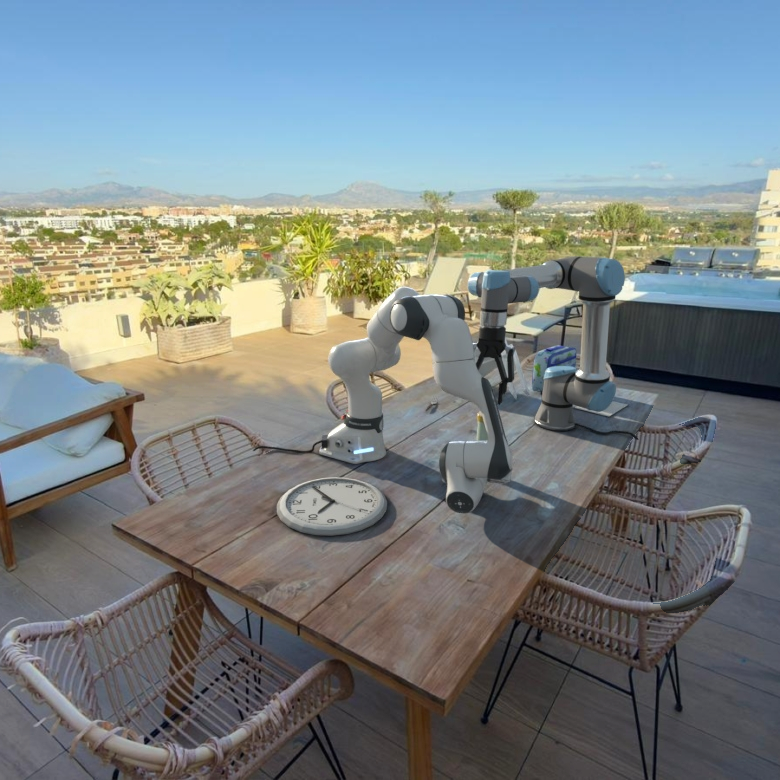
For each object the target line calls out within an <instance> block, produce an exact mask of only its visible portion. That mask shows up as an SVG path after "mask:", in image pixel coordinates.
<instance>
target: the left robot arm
mask: <svg viewBox="0 0 780 780" xmlns="http://www.w3.org/2000/svg"><path fill="white" fill-rule="evenodd" d="M465 319H466V309H465V306H464V304H463V302H462V301H461V300H460V299H459V298H458V297H456V296H453V295H450V294H430V293H429V294H420V293H418V291H416V290H415V289H414V288H412V287H409V286H400V287H398V288H396V289H395V290H393V292H391V293H390V295H388V296H387V297H386V298H385V299H384V301H383V302H382V303H381V304H380V305H379V306H378V308H377V309H376V311H375V312H374V314H373V315H372V316H371V318H370V319H369V321H368V322H367V324H366V334H367V337H365V338H362V339H356V340H348V341H344V342H341V343H339V344H336V345H333V347H331V349H330V350H329V352H328V356H327V357H328V358H327V362H328V366H329V369H330V371H332V373H333V374H334V375H335V376H337V377H339V379H340V380H341V381H342V382H343V384H344V386H345V388H346V393H347V405H348V409H346V411H345V413H343V415H342V416H340V417H341V419H340V420H341V421H342V422H341V423H340V424H339V425H337V426H336V427H334V428H333V429H332V430H331V431H330V432H329V433H328V434H322V435H321V440H317V441H315V442H314V443H313V444H312V446H311V449H308V450H299V449H291V448H283V447H277V446H265V445H259V446H256V447H254V448H253V449H252V452H255V451H257V450H259V449H268V450H276V451H277V450H278V451H282V452H292V453H299V454H300V453H304V454H305V453H312V452H314V450H315V448H316V446H317V445H318V444H321V446H320V447H319V455H321V456H324V457H326V458H327V457H328V458H332V459H335V460H338V461H342V462H346V463H348V464H353V465H358V464H362V463H368V462H374V461H378V460H381V459H383V458H384V457H386V456H387V449H386V447H385V441H384V434H383V433H384V432H383V431H384V424H385V423H384V422H385V421H384V413H383V392H382V390H381V388H380V387H379V386H378V385H377V384H374V383H372V381H371V377H370V374H372V373H376V372H377V373H378V372H382V371H385V370H388V369H390V368H393V367H394V366H397V364H399V362H400V359H401V356H402V353H401V352H402V351H401V347H400V342H402V341H403V339H404V338H405V337H406V338H410V339H413V340H416V341H420V340H422V338H424V339H425V340H427V342H428V343H429V345H430V350H431V362H432V363H431V367H432V373H433V378H434V382H435V384H436V385H437V386H438V387H439V388H440V389H441V390H442V391H444V392H445V393H447V394H448V395H451V396H454V397H457V398H460V399H464V400H466V401H468V402H470V403H473V404H474V405H476V406H477V408H478V409H479V411H480V412H481V413H482V416H483V420H484V424H485V428H486V432H487V435H488V440H486V441H476V440H452V441H451V440H450V441H448V442H447V443H446V444H445V445H444V446H443V448H442V449H441V451H440V454H439V459H438V467H439V468H438V469H439V473H440V476H441V482H442V483H444V484H446V486H447V487H446V494H445V501H446V505H447V506H448V508H449V509H450V510H451V511H453V512H454V513H457V514H468V513H469V514H470V513H471V512H473V511H474V510H475V509H476V508H477V507H478V505H479V503H480V501H481V499H482V496H483V494H484V490H486V486H487V484H488V483H492V484H499V485H504V484H507V483H510V482H511V480H512V475H513V466H514V460H513V459H514V458H513V453H512V450H511V448H510V445H509V442H508V439H507V436H506V433H505V429H504V425H503V421H502V418H501V413H500V410H499V407H498V406H499V405H497V404H498V401H497V399H496V395H495V393H494V389H493V387H492V384H491V382H490V381H489V379H488V378H487V377H482V376H481V374H480V373H479V371H478V369H477V367H476V363H475V359H473V358H475V355H474V347H473V343H474V342H473V337H472V333H471V330H470V326H469V325H468V323H467V321H466V320H465Z"/></svg>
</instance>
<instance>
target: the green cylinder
mask: <svg viewBox="0 0 780 780" xmlns="http://www.w3.org/2000/svg"><path fill="white" fill-rule="evenodd" d="M476 426H477V428H476V440H475V441H486V440H488V435H487V432H486V428H485V424H484V423H483V422H479V421H478V420H477V425H476Z"/></svg>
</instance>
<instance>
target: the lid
mask: <svg viewBox="0 0 780 780" xmlns="http://www.w3.org/2000/svg"><path fill="white" fill-rule="evenodd" d="M476 420H477V422H478V421H479V422H483V423H484V420H483V416H482V413H481V411H478V412H477V413H476Z"/></svg>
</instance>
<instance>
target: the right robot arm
mask: <svg viewBox="0 0 780 780" xmlns="http://www.w3.org/2000/svg"><path fill="white" fill-rule="evenodd" d="M625 278H626V275H625V270H624V266H623V264H621V261H619V260H618V259H615V258H609V257H599V256H580V255H575V256H568V257H562V258H557V259H552V260H548V261H547V260H546V261H545V262H544V263H543V264H539V265H532V266H525V267H519V268H511V269H506V270H500V269H489V270H486V271H479V272H478V271H477V272H473V273H472V274H471V275H469V278H468V280H467V290H468V292H469V294H470V295H471V296H474V297H478V298H481V299H480V313H479V324H480V326H479V327H478V340H477V342H473V347H474V352H475V350H476V347H478V349H479V351H480V352H481V353H480V355H479V357H478V360H477V362H476V367H477V369H478V371H479V369H480V367H481V364H482V362H483V360H484V358H485V357H486V358H487V357H490V358H494V359H495V362H496V364H497V370H498V373H499V377H500V382H499V383H498V391H497V394H498V395H497V406H501V405H502V403H503V401H504V399H503V397H504V395H505V394H506V393H507V391H508V384H507V383H509V382H512V381H513V382H514V380H515V363H514V358H513V355H514V352H515V349H516V347H515V346H514V347H512V348H510V347H507V346H506V344H505V337H506V332H507V327H506V326H507V321H508V320H507V319H508V309H509V304H519V303H523V304H524V303H528V302H532V301H534V300H535V299H536V298H537V297H538V294H539V291H540V289H543V288H545V289H547V290H553V289H558V290H559V289H560V290H566V291H573V292H578V300H579V301H580V302H581V304H582V320H581V337H580V338H581V339H580V356H579V357H580V358H579V359H580V360H579V369H578V368H577V367H576V366H575V367H571V366H555V367H549V368H547V369H546V371H545V375H544V378H543V379H544V381H543V391H542V394H541V402H540V405H539V407H538V410H537V411H536V413H535V417H534V424H535V425H536V426H537V427H539V428H542V429H544V430H549V431H556V432H567V431H572V430H574V429H575V428H576V426H577V427H579V428H582V429H584V430H588V431H591V432H593V433H595V434H598V435H602V436H603V435H611V434H625V435H629V436H631V437H633V438H634V439H635V440H639V438H638V436H637V435H636V434H634V433H633V432H631V431H626V430H609V431H599V430H596V429H595V428H591V427H589V426H586V425H584V424H580V423H577V422H576V418H575V417H576V416H575V413H574V407H573V406H575V407H576V406H579V407H582V408H585V409H588V410H592V411H596V412H601V411H604V410H605V409H606V408H608V406H609V405H610V404H611V402H612V401H614V398H615V396H616V392H617V386H616V384H615V383H614V382H613V381H610V378H611V374H610V372H609V371H608V370H607V357H608V356H607V355H608V354H607V353H608V341H609V338H608V337H609V327H610V311H611V303H612V302H614V301H615V300H616V298H617V297H616V296H617V295H619V294H620V293H621V292H622V291H623V287H624V285H625V280H626V279H625ZM504 350H505V351H506V354H507V355H508V356H507V365H508V378H507V374H506V371H505V367H504V364H503V361H502V355H501V353H502V352H503V351H504Z"/></svg>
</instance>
